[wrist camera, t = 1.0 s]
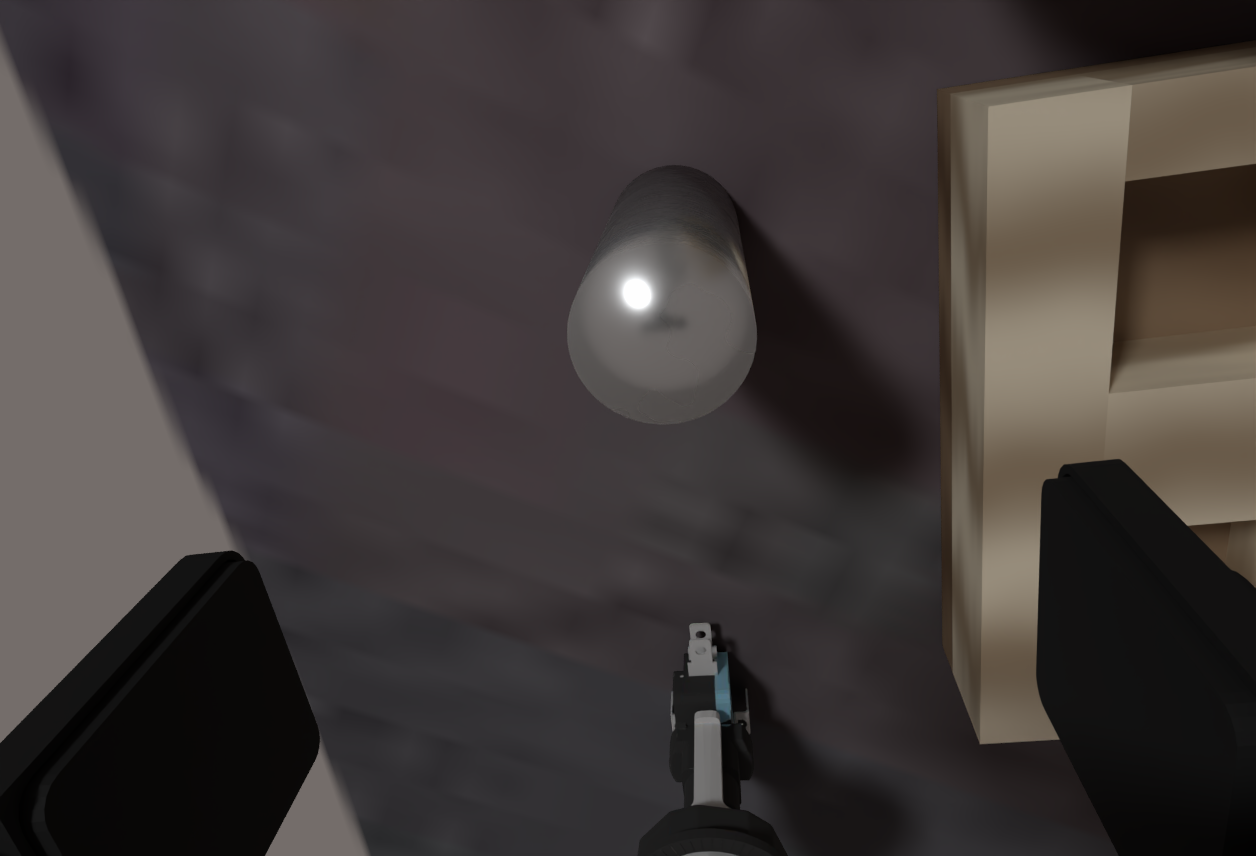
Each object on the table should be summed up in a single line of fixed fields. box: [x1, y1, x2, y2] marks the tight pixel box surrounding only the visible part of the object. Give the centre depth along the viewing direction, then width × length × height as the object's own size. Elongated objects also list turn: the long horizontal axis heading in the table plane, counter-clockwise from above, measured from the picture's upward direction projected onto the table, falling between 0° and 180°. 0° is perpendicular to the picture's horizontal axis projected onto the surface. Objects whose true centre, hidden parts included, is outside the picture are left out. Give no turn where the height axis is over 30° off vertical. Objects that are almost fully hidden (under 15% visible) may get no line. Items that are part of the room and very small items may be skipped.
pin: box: [567, 165, 757, 424], centre depth 23 cm, size 4×4×10 cm
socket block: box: [937, 40, 1256, 744], centre depth 26 cm, size 20×12×5 cm, turn 9°
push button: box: [638, 623, 788, 856], centre depth 31 cm, size 7×5×10 cm
